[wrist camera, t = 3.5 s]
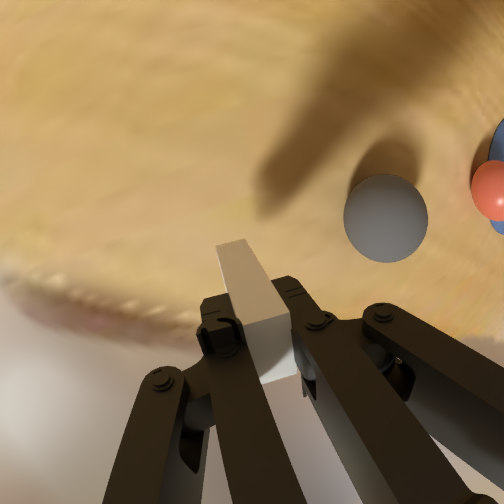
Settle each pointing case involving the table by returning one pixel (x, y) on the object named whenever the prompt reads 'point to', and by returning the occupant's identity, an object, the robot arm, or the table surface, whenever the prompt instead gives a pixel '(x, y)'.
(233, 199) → the table surface
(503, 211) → the red ball
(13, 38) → the table surface
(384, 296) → the table surface
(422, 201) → the grey ball
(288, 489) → the robot arm
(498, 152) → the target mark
